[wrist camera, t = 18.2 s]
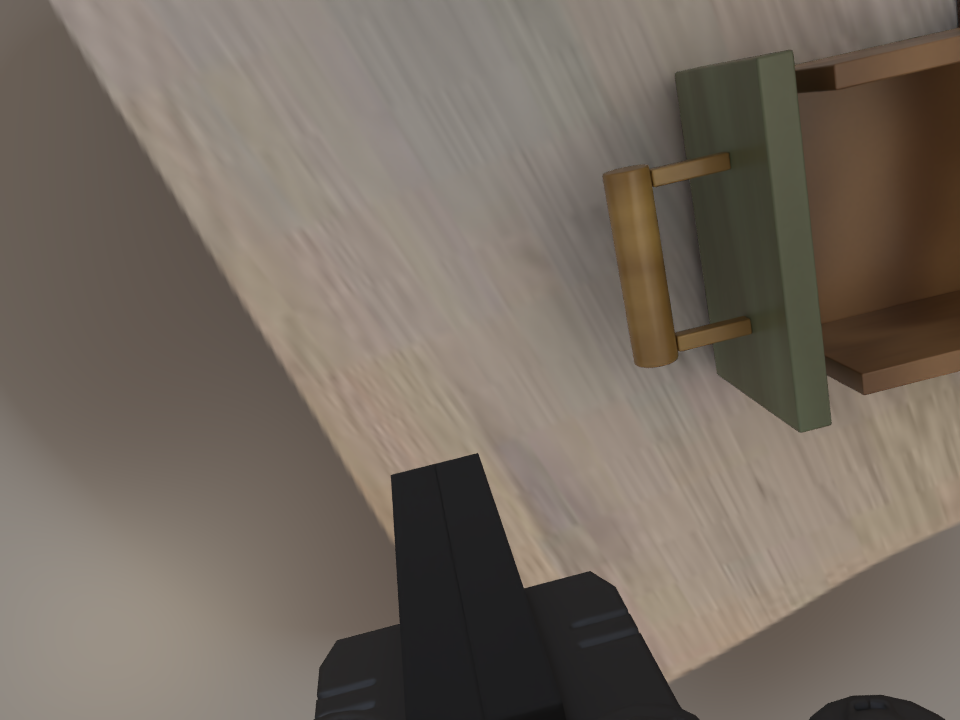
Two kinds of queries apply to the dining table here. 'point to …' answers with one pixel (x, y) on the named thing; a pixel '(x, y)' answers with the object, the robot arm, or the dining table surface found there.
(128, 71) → the dining table surface
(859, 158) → the drawer
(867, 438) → the dining table surface
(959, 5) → the cabinet
